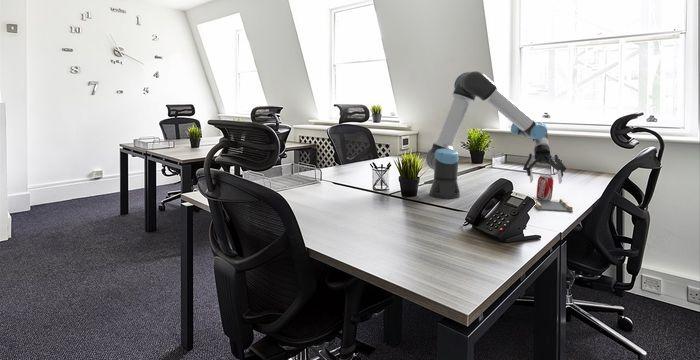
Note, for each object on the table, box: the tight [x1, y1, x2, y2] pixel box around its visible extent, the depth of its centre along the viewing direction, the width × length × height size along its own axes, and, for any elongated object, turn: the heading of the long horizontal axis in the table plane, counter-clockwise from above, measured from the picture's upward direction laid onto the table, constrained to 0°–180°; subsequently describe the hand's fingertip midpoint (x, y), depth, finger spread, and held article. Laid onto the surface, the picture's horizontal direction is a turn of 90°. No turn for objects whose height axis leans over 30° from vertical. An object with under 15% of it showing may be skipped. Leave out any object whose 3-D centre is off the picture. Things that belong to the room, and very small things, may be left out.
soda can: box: [536, 174, 554, 201], centre depth 207 cm, size 7×7×12 cm
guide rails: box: [532, 197, 573, 211], centre depth 195 cm, size 16×14×2 cm
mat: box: [534, 200, 573, 213], centre depth 195 cm, size 16×14×1 cm
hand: (546, 181), depth 210 cm, fingers open, 13 cm apart
